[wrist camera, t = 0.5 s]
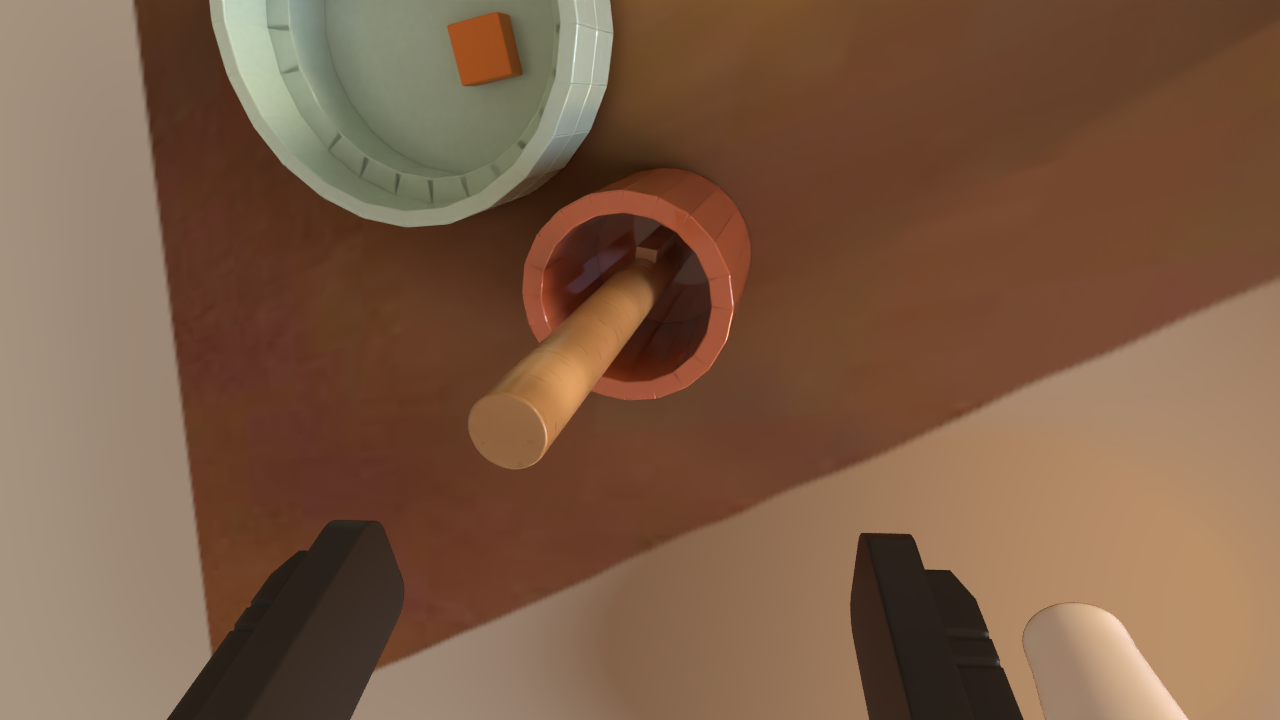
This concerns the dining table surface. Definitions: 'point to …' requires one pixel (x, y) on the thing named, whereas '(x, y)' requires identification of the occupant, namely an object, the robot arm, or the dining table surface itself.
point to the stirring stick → (571, 359)
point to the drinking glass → (1092, 668)
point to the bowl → (414, 99)
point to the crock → (607, 239)
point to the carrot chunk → (485, 49)
